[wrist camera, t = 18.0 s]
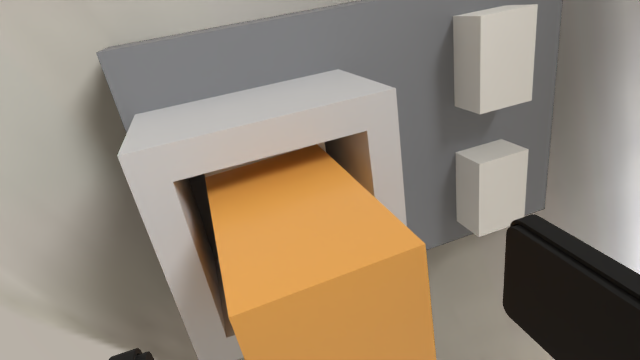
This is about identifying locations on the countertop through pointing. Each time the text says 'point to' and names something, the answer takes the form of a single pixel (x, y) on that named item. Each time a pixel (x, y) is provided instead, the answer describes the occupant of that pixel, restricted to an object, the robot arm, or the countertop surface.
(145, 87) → the breaker panel
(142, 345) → the countertop surface
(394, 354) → the lockout block
